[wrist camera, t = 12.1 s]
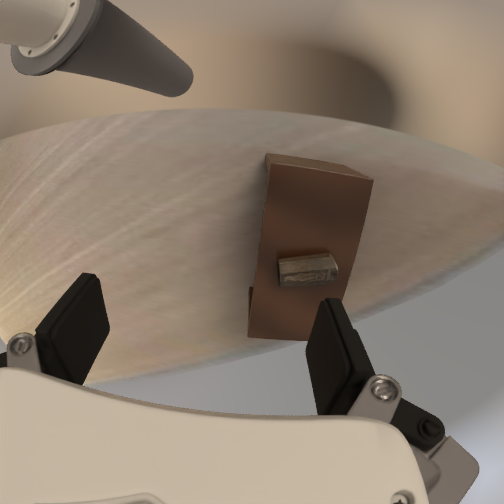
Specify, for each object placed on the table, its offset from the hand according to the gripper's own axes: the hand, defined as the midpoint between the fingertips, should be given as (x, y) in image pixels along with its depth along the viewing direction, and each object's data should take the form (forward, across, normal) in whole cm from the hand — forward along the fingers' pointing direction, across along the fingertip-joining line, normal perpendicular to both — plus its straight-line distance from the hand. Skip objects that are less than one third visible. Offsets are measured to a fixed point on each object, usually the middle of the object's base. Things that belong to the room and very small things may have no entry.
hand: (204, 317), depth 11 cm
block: (+16, -8, +6) cm, 19 cm away
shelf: (+26, -8, +6) cm, 27 cm away
